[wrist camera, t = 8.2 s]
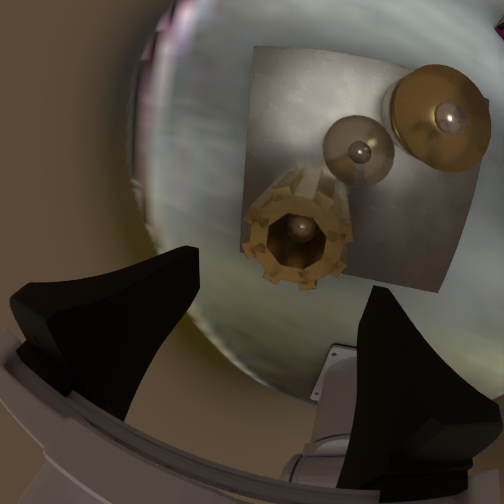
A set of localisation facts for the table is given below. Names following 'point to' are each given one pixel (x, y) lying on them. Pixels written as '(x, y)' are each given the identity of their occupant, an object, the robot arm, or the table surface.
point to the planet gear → (279, 242)
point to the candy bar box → (500, 28)
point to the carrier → (371, 153)
